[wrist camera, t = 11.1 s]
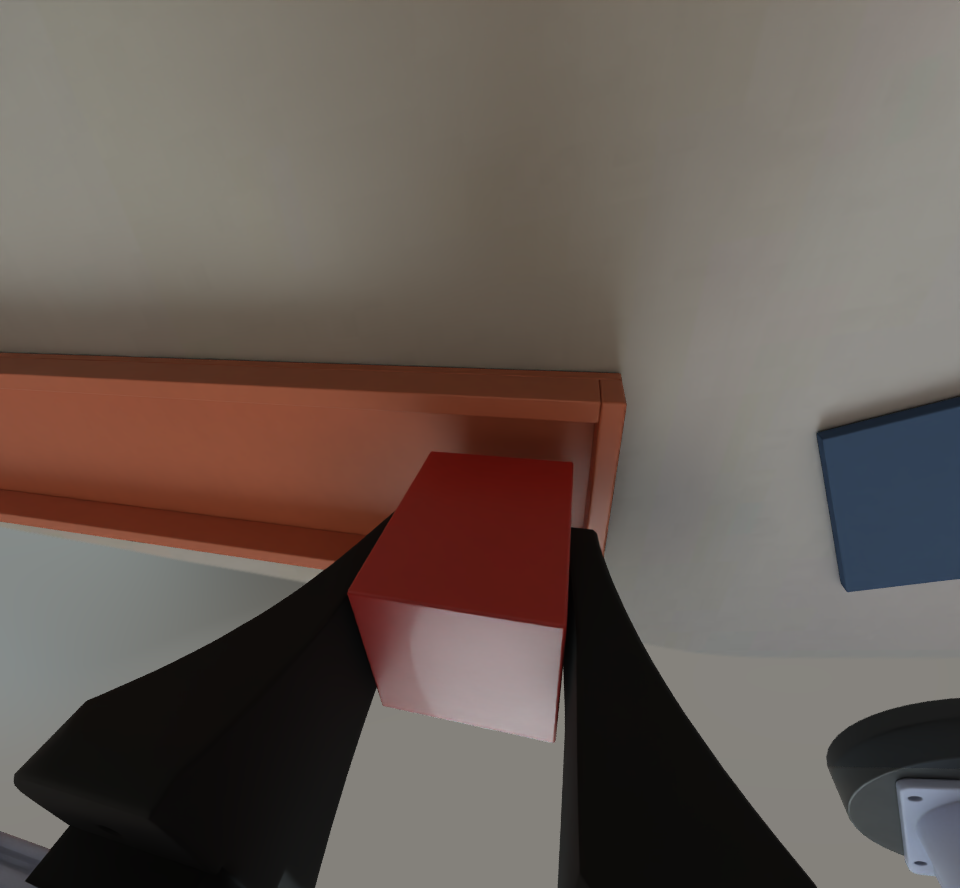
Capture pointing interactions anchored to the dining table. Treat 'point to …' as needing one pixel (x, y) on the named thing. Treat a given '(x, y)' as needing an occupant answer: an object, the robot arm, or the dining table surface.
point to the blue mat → (895, 496)
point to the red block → (472, 593)
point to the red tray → (277, 445)
